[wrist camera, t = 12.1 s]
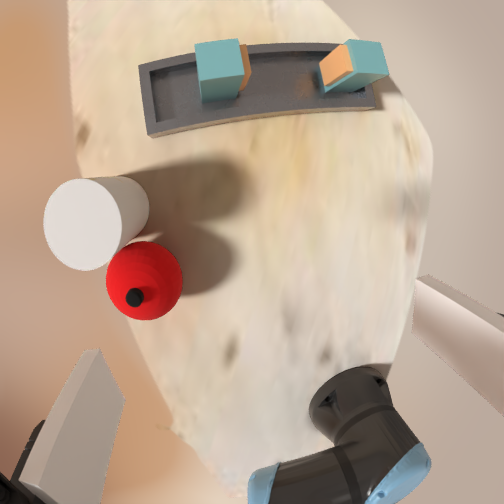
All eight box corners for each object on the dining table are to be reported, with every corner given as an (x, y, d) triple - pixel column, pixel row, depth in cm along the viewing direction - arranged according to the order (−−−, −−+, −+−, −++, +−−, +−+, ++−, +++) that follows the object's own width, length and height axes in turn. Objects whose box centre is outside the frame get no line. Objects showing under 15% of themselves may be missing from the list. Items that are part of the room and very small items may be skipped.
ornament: (131, 222, 34) (104, 240, 25) (196, 251, 36) (191, 278, 27) (110, 284, 36) (84, 318, 26) (171, 310, 38) (161, 352, 29)
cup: (128, 163, 32) (91, 159, 21) (161, 218, 35) (139, 239, 23) (79, 200, 33) (30, 213, 21) (111, 252, 35) (74, 286, 23)
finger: (242, 97, 31) (253, 73, 23) (202, 103, 31) (199, 80, 22) (237, 68, 30) (246, 37, 22) (197, 74, 30) (194, 44, 21)
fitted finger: (313, 64, 31) (342, 38, 23) (346, 65, 32) (380, 42, 23) (319, 92, 32) (351, 72, 24) (352, 92, 33) (389, 74, 24)
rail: (365, 110, 35) (376, 107, 32) (152, 138, 32) (147, 135, 29) (351, 52, 32) (361, 45, 29) (143, 73, 30) (138, 65, 27)
